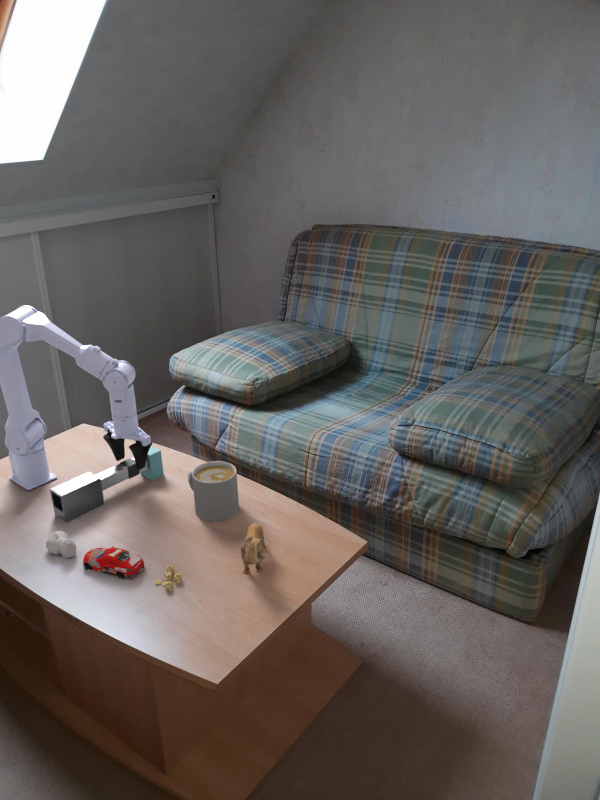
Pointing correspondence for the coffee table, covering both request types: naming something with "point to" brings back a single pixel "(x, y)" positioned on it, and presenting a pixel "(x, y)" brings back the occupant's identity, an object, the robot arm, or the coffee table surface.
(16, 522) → the coffee table surface
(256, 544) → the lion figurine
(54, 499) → the graphite sleeve
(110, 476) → the metal square rod
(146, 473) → the teal socket
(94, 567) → the race car
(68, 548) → the pale two-lobed sculpture
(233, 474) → the coffee mug
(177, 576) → the gold nuggets
